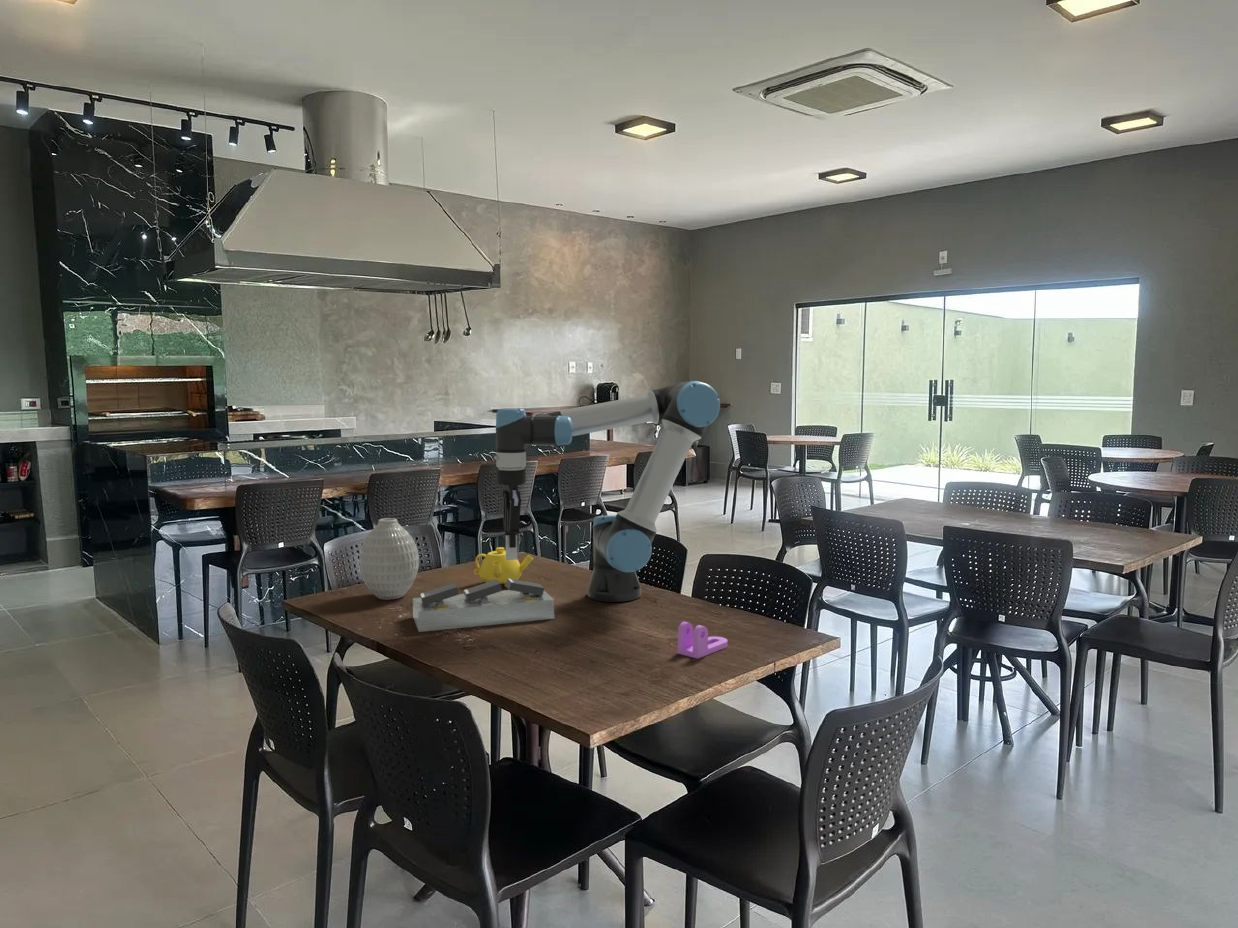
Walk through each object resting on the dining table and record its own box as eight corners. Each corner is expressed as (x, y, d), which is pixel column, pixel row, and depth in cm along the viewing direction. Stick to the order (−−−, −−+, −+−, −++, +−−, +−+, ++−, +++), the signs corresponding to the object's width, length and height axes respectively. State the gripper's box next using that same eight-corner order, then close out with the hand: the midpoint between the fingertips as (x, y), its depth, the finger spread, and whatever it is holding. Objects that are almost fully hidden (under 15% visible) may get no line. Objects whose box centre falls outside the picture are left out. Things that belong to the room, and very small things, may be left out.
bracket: (697, 659, 187) (697, 628, 186) (677, 653, 191) (677, 623, 190) (732, 645, 197) (732, 615, 196) (712, 640, 200) (712, 611, 200)
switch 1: (456, 589, 220) (454, 582, 220) (459, 594, 215) (456, 586, 215) (421, 601, 217) (419, 593, 217) (424, 605, 213) (421, 598, 212)
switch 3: (538, 591, 227) (539, 583, 227) (542, 595, 222) (544, 587, 222) (505, 585, 224) (507, 577, 224) (509, 590, 219) (511, 582, 219)
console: (541, 605, 232) (540, 584, 232) (554, 618, 219) (553, 596, 219) (413, 617, 221) (412, 595, 221) (418, 631, 208) (418, 609, 208)
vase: (431, 594, 245) (429, 517, 243) (388, 607, 232) (385, 525, 229) (392, 587, 254) (389, 513, 252) (348, 599, 240) (345, 520, 238)
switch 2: (498, 586, 223) (496, 578, 223) (502, 590, 219) (500, 583, 218) (465, 597, 221) (463, 589, 220) (468, 602, 216) (466, 594, 216)
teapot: (495, 592, 247) (495, 554, 246) (468, 584, 257) (468, 548, 256) (535, 584, 257) (534, 547, 256) (507, 577, 267) (507, 541, 266)
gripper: (491, 466, 224) (492, 555, 226) (501, 471, 212) (502, 565, 214) (519, 465, 227) (520, 553, 229) (531, 470, 214) (531, 563, 216)
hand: (511, 559), depth 221 cm, fingers closed
